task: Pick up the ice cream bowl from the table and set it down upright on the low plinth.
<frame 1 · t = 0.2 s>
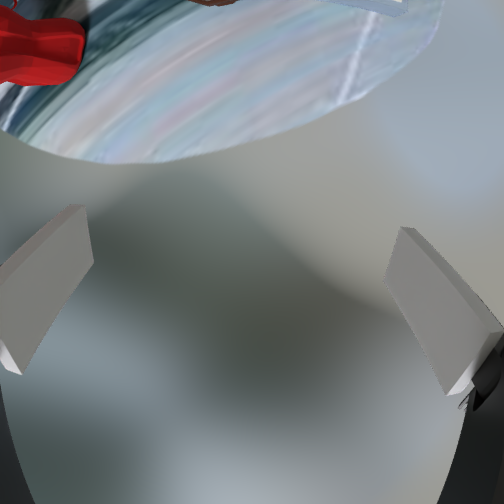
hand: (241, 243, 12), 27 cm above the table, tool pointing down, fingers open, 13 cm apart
water bottle: (61, 47, 28), on the table
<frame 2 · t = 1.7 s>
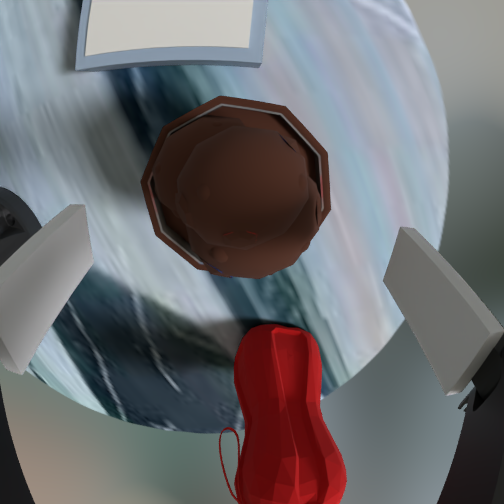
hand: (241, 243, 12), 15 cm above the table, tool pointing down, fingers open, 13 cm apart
ice cream bowl: (238, 158, 25), on the table
water bottle: (267, 345, 36), on the table
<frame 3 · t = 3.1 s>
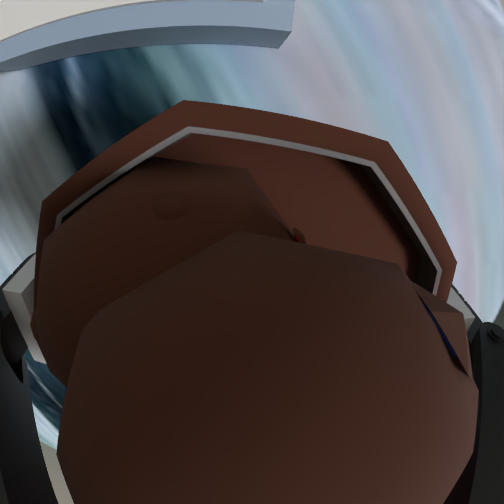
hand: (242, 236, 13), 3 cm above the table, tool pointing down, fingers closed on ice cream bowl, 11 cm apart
ice cream bowl: (242, 206, 15), on the table, touching gripper
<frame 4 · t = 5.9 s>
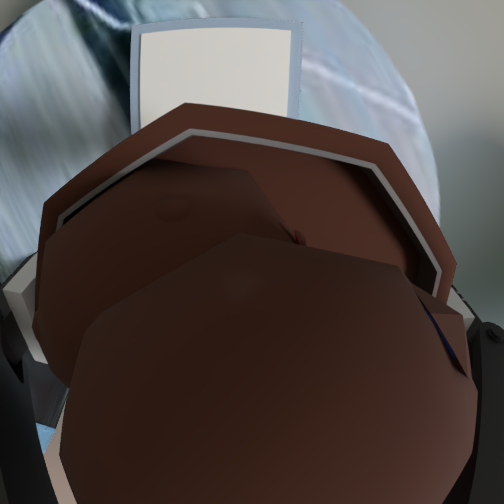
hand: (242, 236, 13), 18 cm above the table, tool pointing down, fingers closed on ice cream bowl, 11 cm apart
ice cream bowl: (242, 207, 15), point 15 cm above the table, touching gripper
base plinth: (216, 96, 26), on the table
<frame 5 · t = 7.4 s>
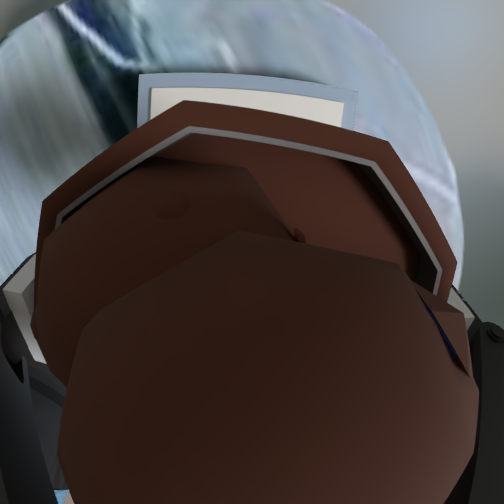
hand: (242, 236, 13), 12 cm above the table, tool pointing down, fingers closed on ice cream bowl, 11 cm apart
ice cream bowl: (242, 206, 15), point 9 cm above the table, touching gripper
base plinth: (241, 166, 23), on the table
when the fingers open (8 cm above the table, at t = 8.7 s): ice cream bowl stays where it is, resting on base plinth.
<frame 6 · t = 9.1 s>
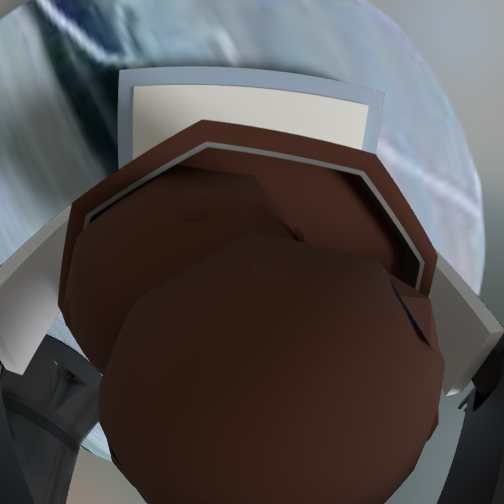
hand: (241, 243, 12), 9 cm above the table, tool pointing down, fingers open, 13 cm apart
ice cream bowl: (243, 200, 16), point 4 cm above the table, touching base plinth
base plinth: (243, 178, 20), on the table
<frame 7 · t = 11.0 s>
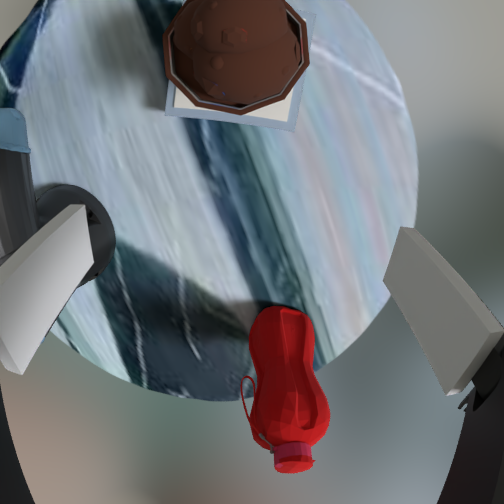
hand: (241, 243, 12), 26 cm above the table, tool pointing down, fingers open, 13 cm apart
ice cream bowl: (239, 59, 27), point 4 cm above the table, touching base plinth
water bottle: (274, 323, 49), on the table
base plinth: (240, 63, 30), on the table
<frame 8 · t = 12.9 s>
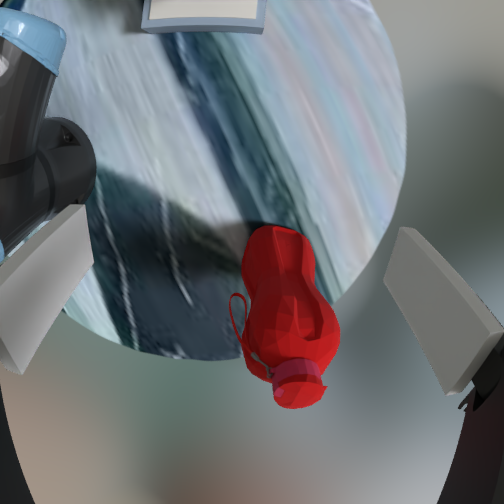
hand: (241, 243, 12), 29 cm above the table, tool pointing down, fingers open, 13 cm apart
water bottle: (269, 250, 45), on the table
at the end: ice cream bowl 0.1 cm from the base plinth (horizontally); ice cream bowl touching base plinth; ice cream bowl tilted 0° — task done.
